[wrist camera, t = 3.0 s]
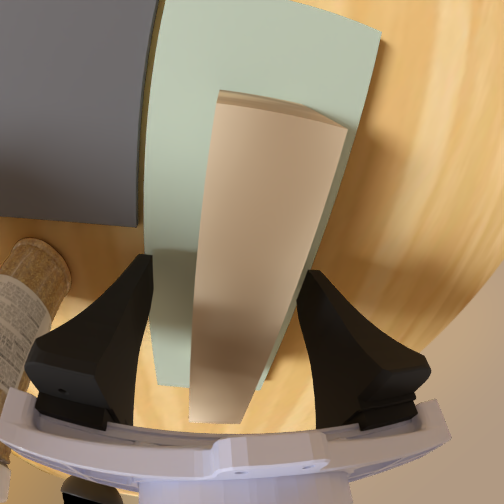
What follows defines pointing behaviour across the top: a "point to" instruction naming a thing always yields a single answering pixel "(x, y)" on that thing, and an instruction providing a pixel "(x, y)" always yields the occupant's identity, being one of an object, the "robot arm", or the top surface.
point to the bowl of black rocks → (88, 492)
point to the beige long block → (253, 241)
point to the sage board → (201, 122)
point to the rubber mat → (72, 108)
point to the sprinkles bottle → (26, 317)
